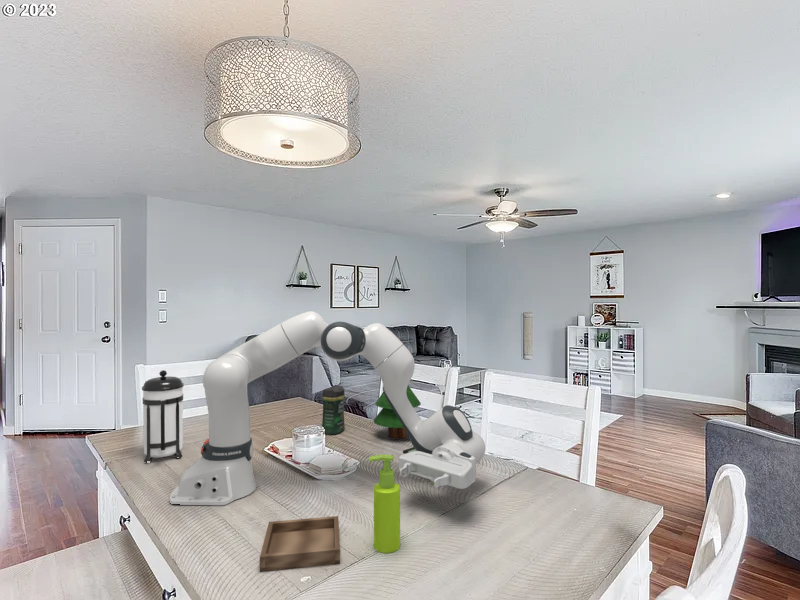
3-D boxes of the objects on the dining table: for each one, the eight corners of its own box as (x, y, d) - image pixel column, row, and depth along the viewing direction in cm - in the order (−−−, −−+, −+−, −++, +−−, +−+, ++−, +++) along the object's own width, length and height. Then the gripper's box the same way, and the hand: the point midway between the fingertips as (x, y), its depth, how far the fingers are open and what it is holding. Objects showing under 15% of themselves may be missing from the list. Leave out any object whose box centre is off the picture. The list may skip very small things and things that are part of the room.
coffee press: (125, 462, 147) (124, 373, 147) (166, 446, 162) (166, 365, 162) (162, 469, 141) (162, 376, 140) (202, 453, 155) (201, 368, 155)
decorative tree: (365, 440, 168) (364, 362, 168) (385, 426, 186) (384, 356, 186) (412, 446, 161) (411, 365, 161) (428, 431, 179) (428, 358, 179)
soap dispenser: (368, 539, 100) (368, 451, 100) (399, 537, 100) (398, 450, 100) (369, 554, 94) (369, 461, 94) (401, 552, 95) (401, 460, 94)
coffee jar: (336, 436, 174) (336, 389, 173) (319, 434, 176) (318, 388, 176) (347, 429, 183) (347, 385, 182) (331, 427, 185) (331, 383, 185)
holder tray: (259, 571, 88) (259, 557, 88) (269, 534, 102) (268, 521, 102) (340, 563, 91) (340, 549, 91) (338, 528, 104) (338, 515, 104)
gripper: (416, 442, 124) (384, 455, 113) (480, 458, 111) (452, 476, 100) (416, 464, 124) (384, 480, 113) (480, 483, 111) (452, 503, 101)
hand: (416, 478), depth 107 cm, fingers open, 8 cm apart
